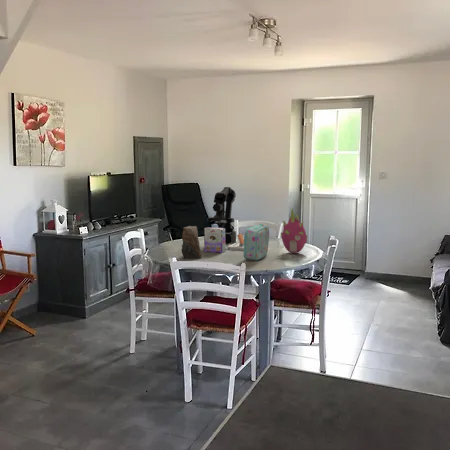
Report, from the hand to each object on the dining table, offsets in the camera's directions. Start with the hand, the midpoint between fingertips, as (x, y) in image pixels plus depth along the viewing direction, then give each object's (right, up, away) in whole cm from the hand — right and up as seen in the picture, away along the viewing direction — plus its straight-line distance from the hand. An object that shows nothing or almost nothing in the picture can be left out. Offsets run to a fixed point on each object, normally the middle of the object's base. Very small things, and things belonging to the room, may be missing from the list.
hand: (220, 231), depth 355 cm
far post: (+10, -10, +9) cm, 17 cm away
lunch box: (+23, -17, -37) cm, 46 cm away
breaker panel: (+15, -12, -4) cm, 19 cm away
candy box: (-4, -14, -16) cm, 21 cm away
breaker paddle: (+16, -9, -5) cm, 19 cm away
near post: (+1, -13, -11) cm, 17 cm away
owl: (-18, -16, -35) cm, 43 cm away
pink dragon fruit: (+49, -14, -22) cm, 56 cm away
